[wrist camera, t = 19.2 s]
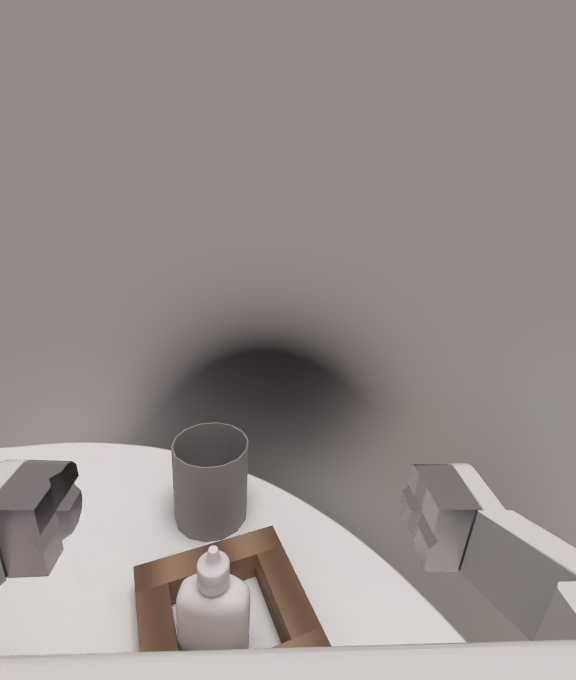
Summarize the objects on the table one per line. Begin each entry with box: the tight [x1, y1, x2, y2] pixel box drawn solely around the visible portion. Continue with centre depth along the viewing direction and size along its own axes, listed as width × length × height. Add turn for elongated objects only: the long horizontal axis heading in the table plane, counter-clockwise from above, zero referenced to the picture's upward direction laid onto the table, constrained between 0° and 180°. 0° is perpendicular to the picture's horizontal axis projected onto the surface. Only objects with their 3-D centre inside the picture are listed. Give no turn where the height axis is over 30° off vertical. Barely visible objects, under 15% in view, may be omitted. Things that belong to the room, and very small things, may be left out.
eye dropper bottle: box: [176, 545, 250, 651], centre depth 31 cm, size 4×6×12 cm
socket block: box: [134, 526, 331, 652], centre depth 34 cm, size 14×14×3 cm
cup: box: [171, 422, 248, 542], centre depth 46 cm, size 8×8×10 cm
